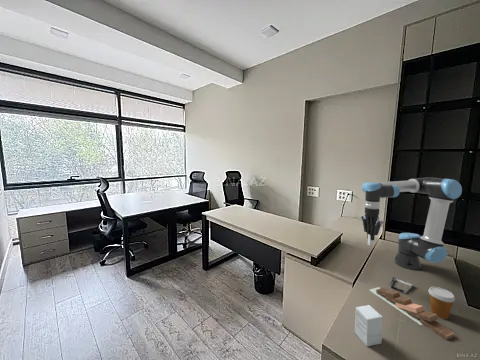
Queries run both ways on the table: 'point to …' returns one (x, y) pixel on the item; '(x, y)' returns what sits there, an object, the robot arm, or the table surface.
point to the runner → (395, 306)
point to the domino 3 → (411, 307)
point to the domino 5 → (438, 329)
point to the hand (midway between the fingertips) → (370, 244)
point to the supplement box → (368, 325)
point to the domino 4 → (424, 315)
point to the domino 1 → (388, 292)
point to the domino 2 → (400, 300)
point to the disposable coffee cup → (441, 302)
